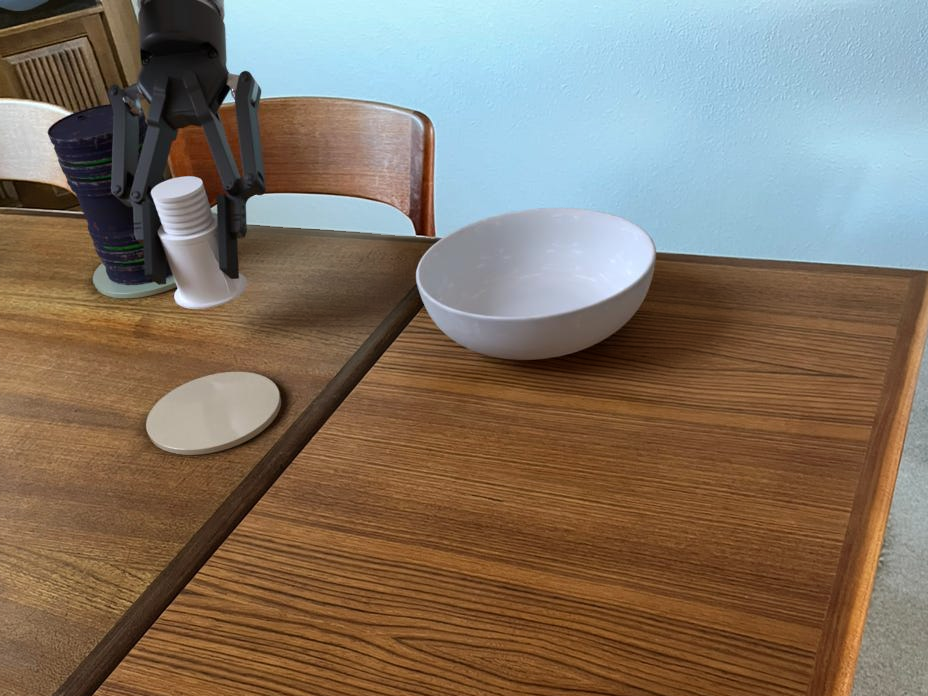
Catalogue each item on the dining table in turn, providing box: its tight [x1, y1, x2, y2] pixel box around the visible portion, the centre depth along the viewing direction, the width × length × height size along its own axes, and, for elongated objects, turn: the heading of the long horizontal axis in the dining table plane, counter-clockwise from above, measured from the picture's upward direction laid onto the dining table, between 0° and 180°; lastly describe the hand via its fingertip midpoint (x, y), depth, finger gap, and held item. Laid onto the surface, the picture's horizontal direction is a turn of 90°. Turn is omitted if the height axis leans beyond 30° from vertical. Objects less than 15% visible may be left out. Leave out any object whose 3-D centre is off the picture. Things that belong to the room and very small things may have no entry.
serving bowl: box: [415, 207, 657, 361], centre depth 86 cm, size 21×21×7 cm
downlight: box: [151, 175, 248, 310], centre depth 89 cm, size 8×7×10 cm
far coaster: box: [92, 262, 177, 299], centre depth 108 cm, size 13×13×1 cm
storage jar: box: [47, 103, 173, 285], centre depth 102 cm, size 10×10×15 cm
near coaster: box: [145, 371, 282, 456], centre depth 86 cm, size 12×12×1 cm
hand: (192, 276), depth 88 cm, fingers closed on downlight, 6 cm apart
